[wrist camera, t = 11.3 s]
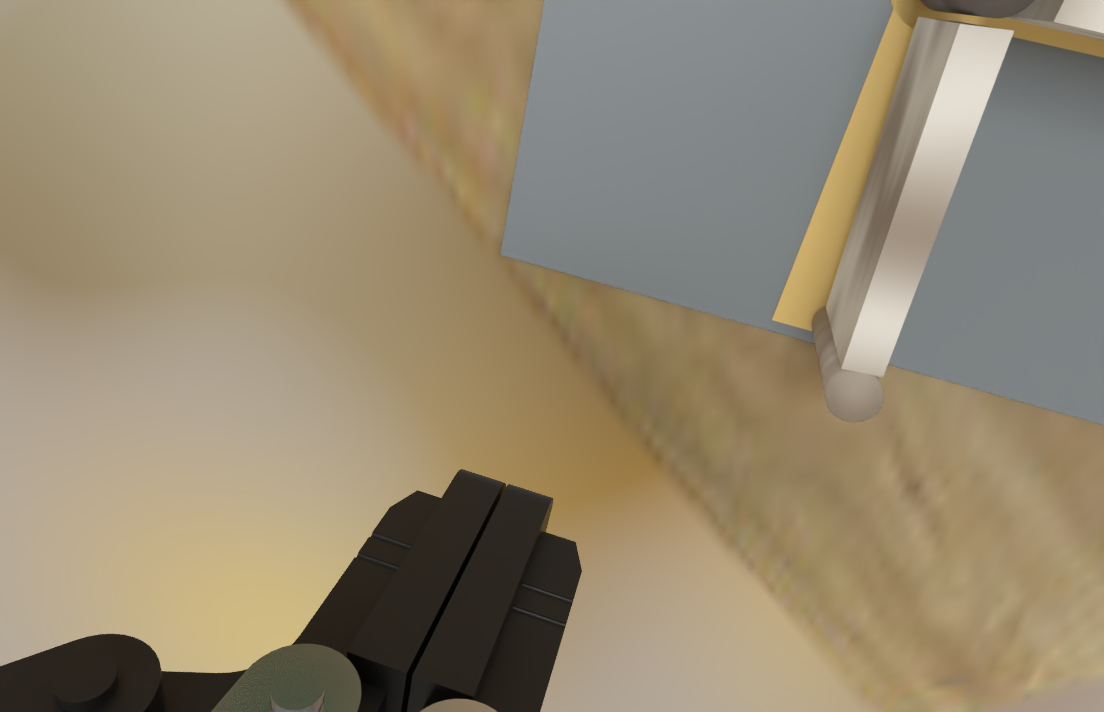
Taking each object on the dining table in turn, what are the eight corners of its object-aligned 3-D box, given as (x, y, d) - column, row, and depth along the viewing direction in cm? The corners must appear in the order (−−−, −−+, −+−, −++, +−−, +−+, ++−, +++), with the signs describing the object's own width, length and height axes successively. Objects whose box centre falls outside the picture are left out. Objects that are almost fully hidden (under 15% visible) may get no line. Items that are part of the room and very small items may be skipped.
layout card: (1564, -145, 18) (1579, -148, 18) (1139, 432, 27) (1144, 437, 26) (603, -323, 21) (600, -328, 21) (502, 252, 30) (499, 255, 29)
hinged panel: (928, -54, 21) (983, -66, 16) (986, -47, 21) (1060, -58, 16) (806, 338, 27) (819, 415, 22) (850, 347, 27) (873, 427, 22)
